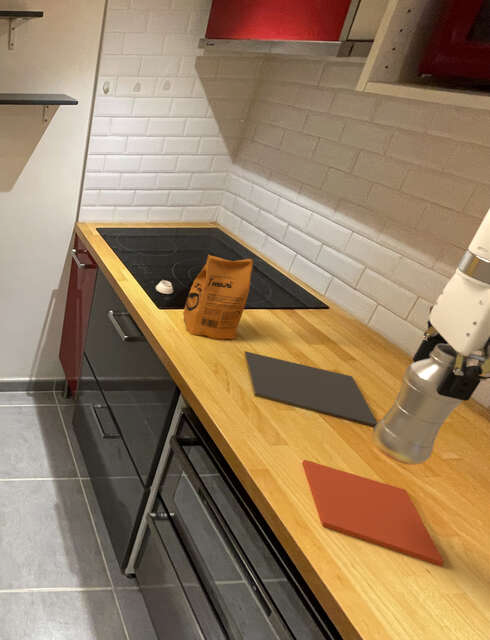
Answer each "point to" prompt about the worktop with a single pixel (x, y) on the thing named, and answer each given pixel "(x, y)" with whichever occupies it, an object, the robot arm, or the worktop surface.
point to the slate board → (308, 388)
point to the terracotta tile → (370, 511)
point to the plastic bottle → (418, 409)
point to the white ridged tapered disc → (164, 287)
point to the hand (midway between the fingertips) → (438, 378)
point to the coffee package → (218, 298)
